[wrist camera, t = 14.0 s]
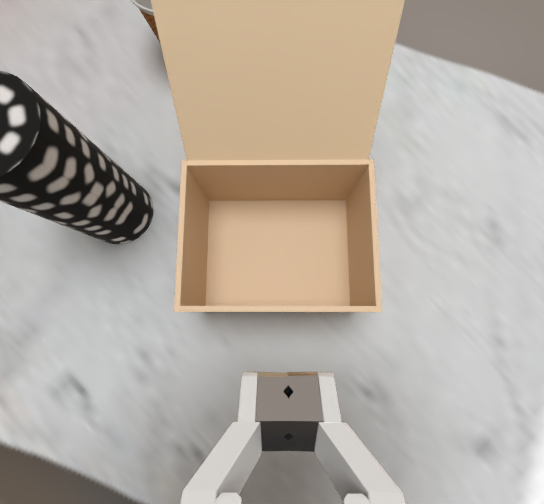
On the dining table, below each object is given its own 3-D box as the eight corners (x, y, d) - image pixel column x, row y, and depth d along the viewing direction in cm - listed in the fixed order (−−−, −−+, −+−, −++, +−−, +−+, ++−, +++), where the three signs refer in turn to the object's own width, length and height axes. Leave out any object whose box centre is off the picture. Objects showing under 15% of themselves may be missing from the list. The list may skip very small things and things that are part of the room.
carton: (352, 310, 39) (382, 311, 28) (202, 310, 39) (174, 311, 28) (348, 198, 41) (373, 159, 30) (206, 199, 41) (181, 160, 31)
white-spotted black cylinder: (83, 190, 42) (-89, 85, 22) (146, 174, 42) (31, 57, 22) (93, 251, 41) (-80, 198, 21) (159, 234, 41) (48, 166, 21)
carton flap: (409, -22, 21) (407, -23, 21) (146, -18, 21) (148, -19, 22) (368, 159, 30) (367, 156, 31) (187, 160, 31) (188, 157, 31)
